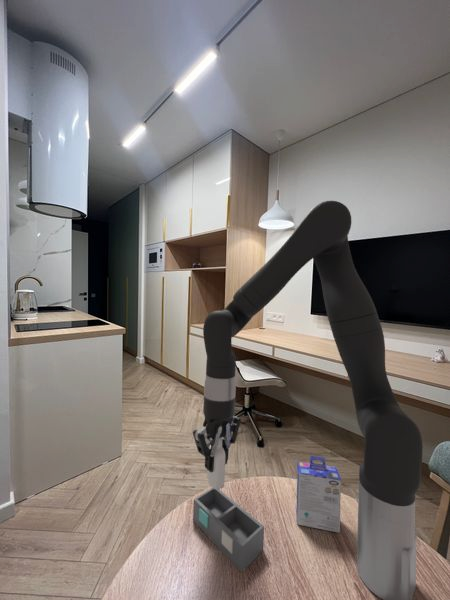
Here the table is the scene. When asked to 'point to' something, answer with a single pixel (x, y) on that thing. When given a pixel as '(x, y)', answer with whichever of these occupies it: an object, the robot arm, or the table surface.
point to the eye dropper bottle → (217, 467)
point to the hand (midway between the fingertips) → (216, 466)
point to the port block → (229, 527)
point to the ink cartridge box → (318, 495)
